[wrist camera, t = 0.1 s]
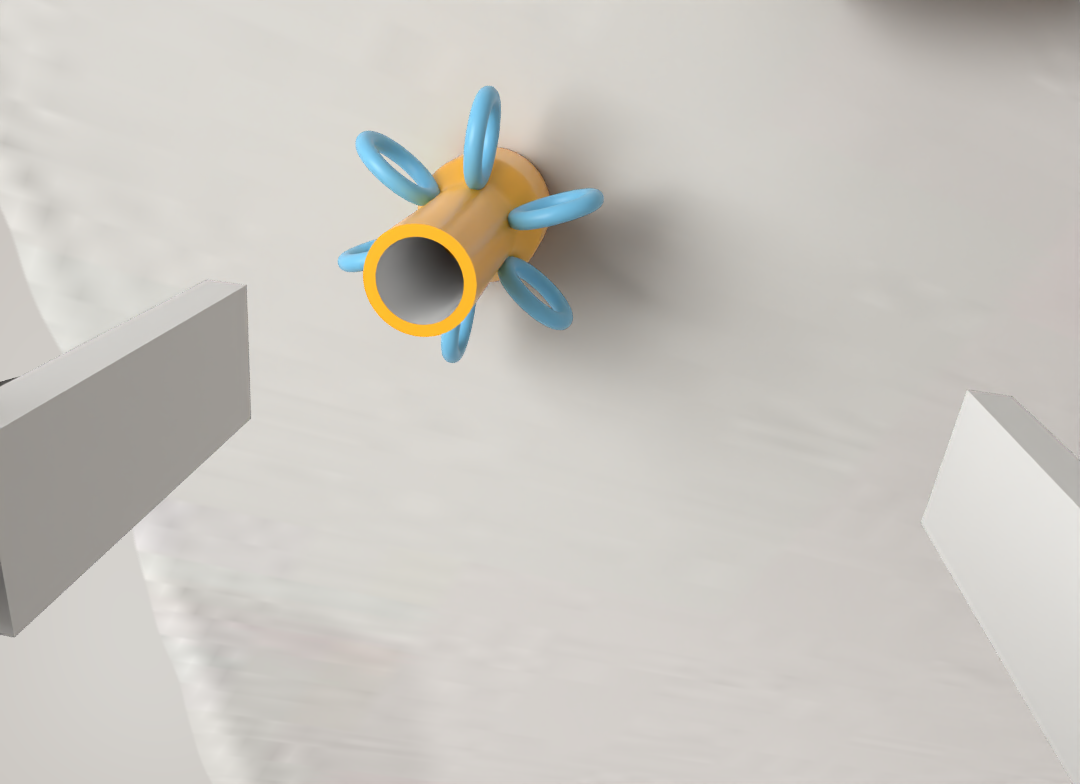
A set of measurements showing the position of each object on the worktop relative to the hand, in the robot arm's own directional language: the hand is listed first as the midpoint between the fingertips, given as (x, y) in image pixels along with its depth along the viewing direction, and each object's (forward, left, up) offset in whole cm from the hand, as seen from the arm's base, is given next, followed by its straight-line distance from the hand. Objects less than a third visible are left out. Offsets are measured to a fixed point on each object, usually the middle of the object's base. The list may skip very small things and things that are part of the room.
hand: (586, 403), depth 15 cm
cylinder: (+2, -6, -28) cm, 29 cm away
